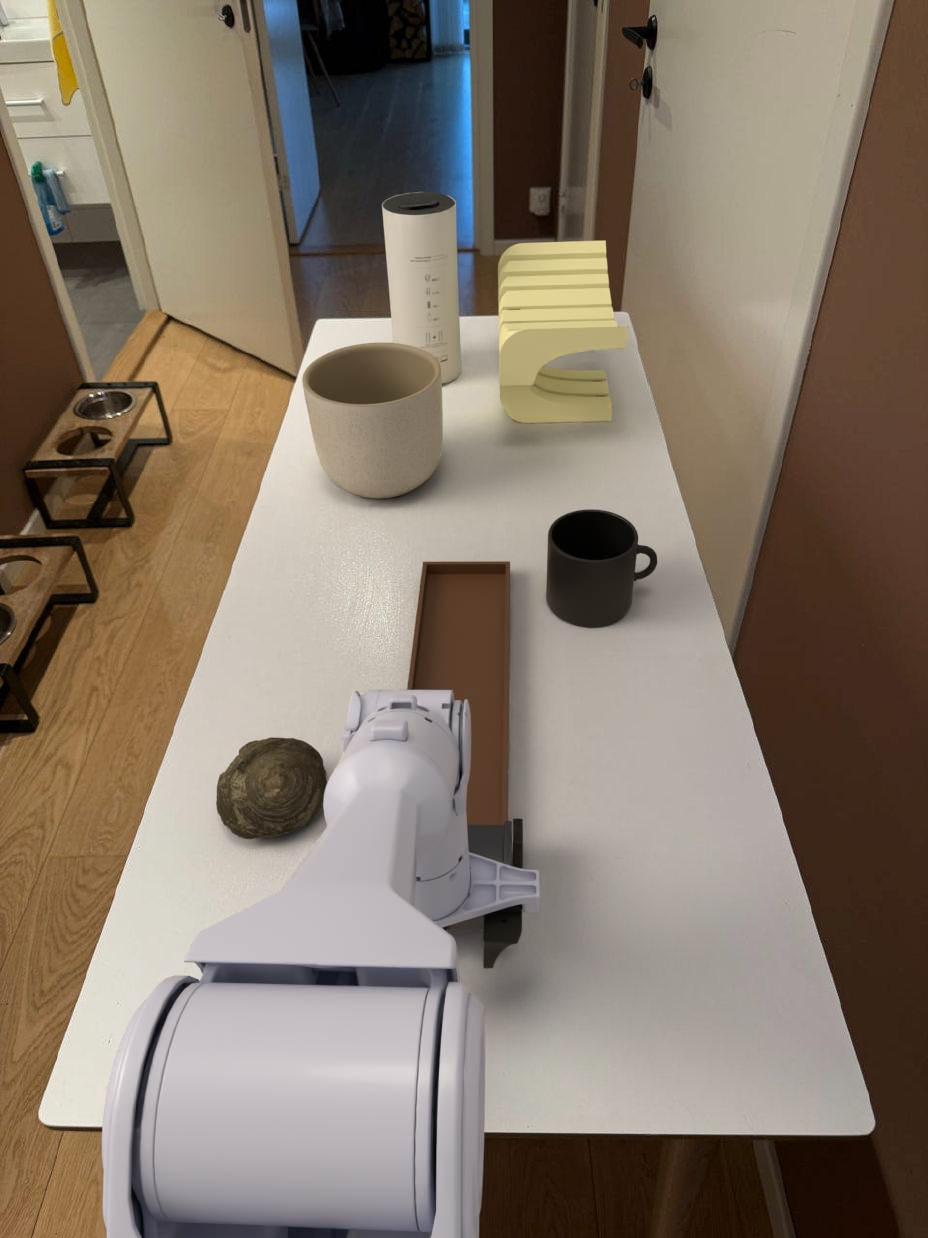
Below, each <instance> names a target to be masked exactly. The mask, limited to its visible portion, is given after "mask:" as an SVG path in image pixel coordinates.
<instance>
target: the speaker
mask: <svg viewBox="0 0 928 1238" xmlns="http://www.w3.org/2000/svg"><path fill="white" fill-rule="evenodd" d="M381 210H382V221H383V235H384V246H385V257H386V258H385V259H386V270H387V281H388V293H389V294H388V295H389V306H390V316H391V317H390V320H391V329H392V343H398V344H405V345H409V346H413V347H417V348H419V349H422V350H424V351H426V352H428V353H430V354H431V355H432V356H434V357H435V358H436V359H437V361H438V362H439V364H440V367H441V375H442V386H445V385H447V384H450V383H453V382H454V381H455V380H456V379H458V377H459V376H460V375H461V374H462V371H463V370H462V369H463V368H462V367H463V366H462V349H461V348H462V347H461V326H460V301H459V299H460V297H459V296H460V295H459V273H458V272H459V270H458V268H459V267H458V266H459V265H458V242H457V241H458V237H457V236H458V234H457V233H458V231H457V201H456V200H455V199H454V198H453V197H452V196H450V195H447V194H443V193H439V192H432V191H431V192H430V191H417V192H407V193H402V194H396V195H394V196H391V197H389V198H387V199H385V200H384V201H382V203H381Z"/></svg>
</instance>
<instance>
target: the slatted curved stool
mask: <svg viewBox="0 0 928 1238" xmlns="http://www.w3.org/2000/svg"><path fill="white" fill-rule="evenodd" d="M608 268H609V267H608V258H607V241H606V240H579V241H577V240H576V241H574V240H573V241H544V242H520V243H516V244H513V245H511V246H509V247H508V248H507V249H506V250H505V251H504V252H503V253H502V254H501V256H500V258H499V260H498V264H497V286H498V287H497V293H498V294H497V295H498V297H497V300H498V301H497V302H498V360H499V361H498V364H499V365H498V368H499V399H500V403H501V406H502V408H503V409H504V411H505V412H506V414H507V415H508V416H509V417H510V418H511V419H513V420H514V421H517V422H519V423H523V424H540V423H541V424H542V423H544V424H545V423H547V424H548V423H582V422H583V423H586V422H587V423H589V422H613V404H612V403H613V402H612V399H611V396H610V395H611V394H610V388H609V384H608V381H607V373H606V370H605V369H565V368H564V369H563V368H554V367H549V366H545V365H546V364H547V363H549V362H551V361H552V360H555V359H557V358H559V357H563V356H566V355H570V354H576V353H582V352H591V351H601V350H613V349H627V348H628V337H629V326H620V325H619V324H618V322H617V320H616V317H615V313H614V308H613V306H612V304H613V302H612V297H611V291H610V279H609V273H608V270H609V269H608Z"/></svg>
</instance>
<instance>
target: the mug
mask: <svg viewBox="0 0 928 1238" xmlns="http://www.w3.org/2000/svg"><path fill="white" fill-rule="evenodd" d="M546 553H547V555H546V582H545V583H546V584H545V585H546V586H545V588H546V589H545V593H546V594H545V600H546V603H547V606H548V608H549V610H551V612H552V613H553V614H554V615H555V616H556V617H557V618H559V619H561V620H562V621H564V622H566V623H569V624H571V625H573V626H574V625H575V626H580V627H588V628H589V627H590V628H595V627H596V628H597V627H604V626H607V625H610V624H613V623H615V622H617V621H619V620H620V619H622V618H623V617H624V616H625V615H626V614H627V613H628V611H629V609H630V608H631V606H632V603H633V601H632V600H633V591H634V583H635V582H637V581H639V580H643V579H646V578H647V577H649V576H650V575H652V574H653V572H654V571H655V570H656V568H657V565H658V555H657V552H656V551H655V550H654V549H653V548H652V547H650V546H649V545H643V544H639V533H638V530H637V529H636V527H635V526H634V525H633V523H632V522H631V521H630V520H628V519H627V518H626V517H623V516H622V515H619V514H618V513H614V512H612V511H608V510H604V509H603V510H602V509H592V508H591V509H589V508H588V509H579V510H574V511H571V512H567V513H565V514H563V515H560V516H559V517H557V518H556V519H555V520H554V521H553V522H552V523H551V525H550V526H549V529H548V532H547V552H546ZM640 554H643V555H646V556H647V557H648V558H649V563H648V565H647V567H645V568H644V569H642V570H640V571H636V566H637V556H638V555H640Z"/></svg>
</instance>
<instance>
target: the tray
mask: <svg viewBox="0 0 928 1238" xmlns="http://www.w3.org/2000/svg"><path fill="white" fill-rule="evenodd" d="M420 575H421V576H420V582H419V591H418V597H417V598H418V600H417V607H416V615H415V623H414V631H413V640H412V647H411V655H410V663H409V670H408V678H407V688H406V690H453V693H454V701H455V700H461V701H462V703H463V707H464V700H465V699H467V700H468V703H469V707H470V713H471V766H470V777H469V781H468V785H467V800H466V814H467V825H504V821H509V819H508V817H509V738H510V737H509V736H510V735H509V734H510V733H509V727H510V725H509V723H510V722H509V720H510V716H509V715H510V638H511V637H510V633H511V632H510V631H511V626H510V625H511V620H510V619H511V561H510V560H507V561H506V560H505V561H504V560H503V561H502V560H501V561H500V560H499V561H497V560H496V561H495V560H494V561H483V560H481V561H479V560H478V561H477V560H476V561H475V560H474V561H471V560H469V561H422V567H421V574H420Z"/></svg>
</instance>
